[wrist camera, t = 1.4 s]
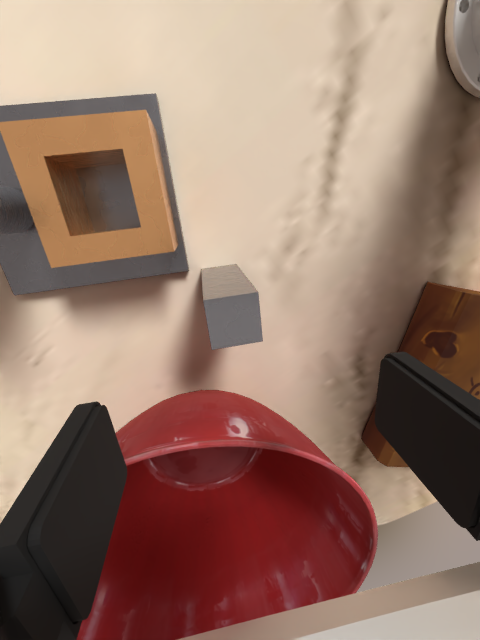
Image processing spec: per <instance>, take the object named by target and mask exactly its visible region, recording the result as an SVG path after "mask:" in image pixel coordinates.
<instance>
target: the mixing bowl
mask: <svg viewBox="0 0 480 640" xmlns="http://www.w3.org/2000/svg"><path fill="white" fill-rule="evenodd" d="M116 437H117V439H118V442H119V445H120V448H121V451H122V454H123V457H124V460H125V463H126V466H127V479H126V483H125V487H124V491H123V494H122V498H121V502H120V506H119V509H118V513H117V517H116V520H115V524H114V528H113V532H112V535H111V539H110V543H109V546H108V550H107V554H106V558H105V561H104V565H103V569H102V572H101V576H100V580H99V584H98V587H97V591H96V595H95V598H94V602H93V606H92V609H91V612H90V614H89V617H88V618H87V619H85V620H82V623H81V626H80V630H79V633H78V637H77V640H177V639H181V638H185V637H189V636H193V635H197V634H200V633H204V632H208V631H212V630H216V629H219V628H223V627H227V626H231V625H235V624H238V623H242V622H246V621H250V620H254V619H257V618H261V617H265V616H269V615H273V614H277V613H281V612H284V611H288V610H292V609H296V608H300V607H304V606H308V605H312V604H315V603H319V602H323V601H327V600H331V599H335V598H339V597H343V596H347V595H351V594H354V593H356V592H357V590H358V589H359V588H360V586H361V585H362V583H363V581H364V579H365V578H366V576H367V574H368V572H369V570H370V568H371V566H372V563H373V560H374V557H375V553H376V549H377V540H378V530H377V521H376V517H375V513H374V510H373V508H372V505H371V503H370V501H369V499H368V497H367V496H366V494H365V493H364V491H363V490H362V489H361V487H360V486H359V485H358V484H357V483H356V482H355V481H354V480H353V479H352V478H351V477H350V476H349V475H348V474H347V473H345V472H344V471H343V470H341V469H340V468H338V467H337V466H335V464H334V463H333V462H332V461H331V460H330V459H329V458H328V457H327V456H326V455H325V454H324V453H323V452H322V451H321V450H320V449H319V448H318V447H317V446H316V445H315V444H314V443H313V442H312V441H311V440H310V439H309V438H308V437H306V436H305V435H304V434H303V433H302V432H301V431H299V430H298V429H297V428H296V427H295V426H293V425H292V424H291V423H290V422H288V421H287V420H285V419H284V418H282V417H281V416H280V415H278V414H277V413H275V412H274V411H272V410H270V409H269V408H267V407H266V406H264V405H262V404H260V403H258V402H256V401H254V400H252V399H250V398H247V397H244V396H242V395H239V394H235V393H231V392H225V391H219V390H200V391H194V392H189V393H184V394H180V395H176V396H174V397H171V398H169V399H166V400H163V401H162V402H160V403H158V404H156V405H154V406H153V407H151V408H150V409H148V410H146V411H145V412H143V413H141V414H140V415H138V416H137V417H136V418H134V419H133V420H131V421H130V422H129V423H128V424H126V425H125V426H124V427H123V428H121V429H120V430H119V431H118V432H117V433H116Z"/></svg>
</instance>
